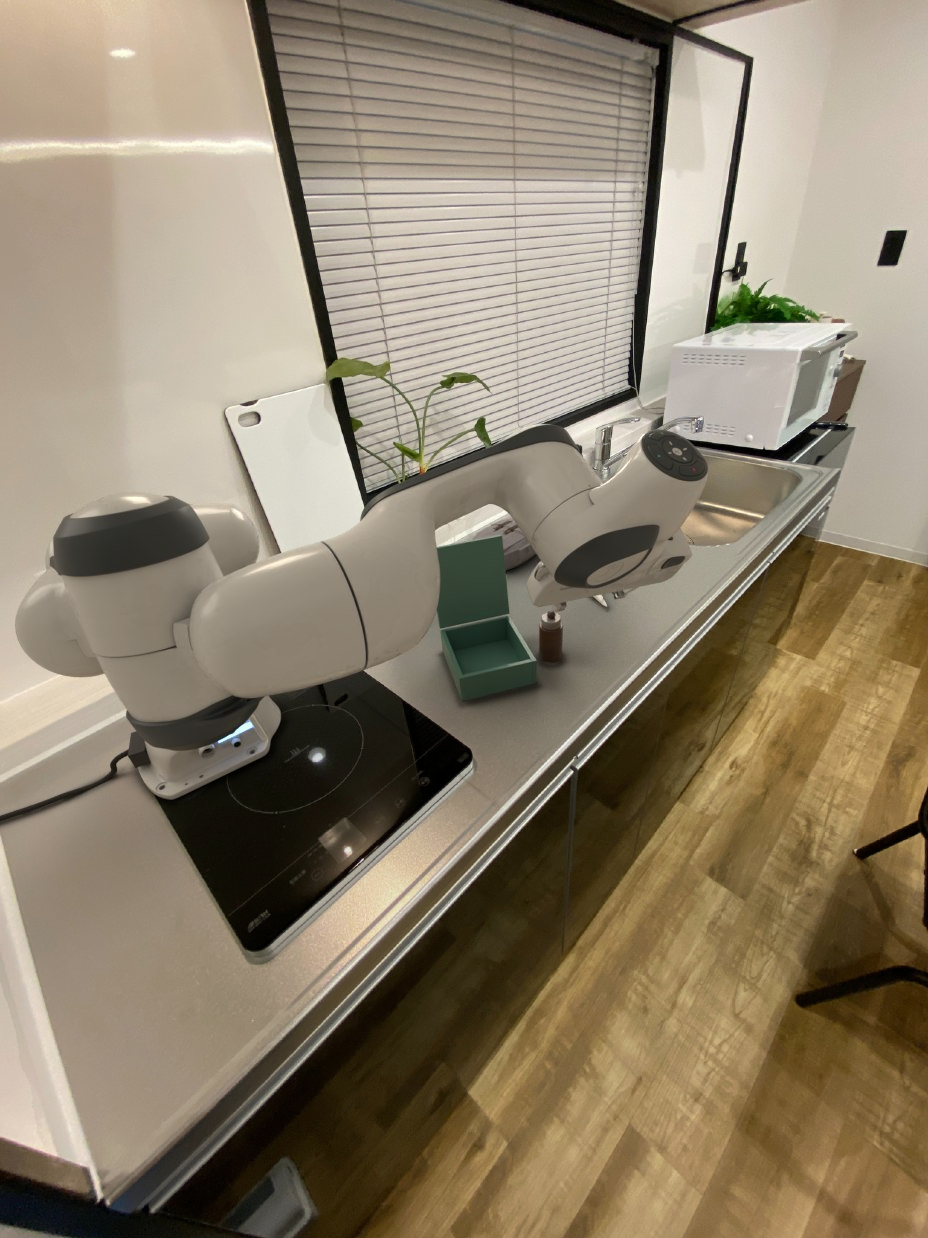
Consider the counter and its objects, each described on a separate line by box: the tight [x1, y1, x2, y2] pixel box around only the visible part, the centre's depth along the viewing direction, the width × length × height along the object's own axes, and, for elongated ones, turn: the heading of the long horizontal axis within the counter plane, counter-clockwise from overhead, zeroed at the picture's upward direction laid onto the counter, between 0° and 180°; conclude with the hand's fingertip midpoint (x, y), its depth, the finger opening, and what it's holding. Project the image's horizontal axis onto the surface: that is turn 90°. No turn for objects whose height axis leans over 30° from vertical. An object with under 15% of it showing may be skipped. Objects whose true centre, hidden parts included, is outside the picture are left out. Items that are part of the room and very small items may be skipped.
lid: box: [436, 535, 511, 630], centre depth 97 cm, size 15×14×1 cm
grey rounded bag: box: [472, 517, 537, 571], centre depth 132 cm, size 15×8×20 cm
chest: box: [439, 614, 538, 702], centre depth 96 cm, size 15×14×6 cm
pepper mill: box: [538, 610, 564, 664], centre depth 96 cm, size 4×4×11 cm
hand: (587, 600), depth 77 cm, fingers open, 8 cm apart
